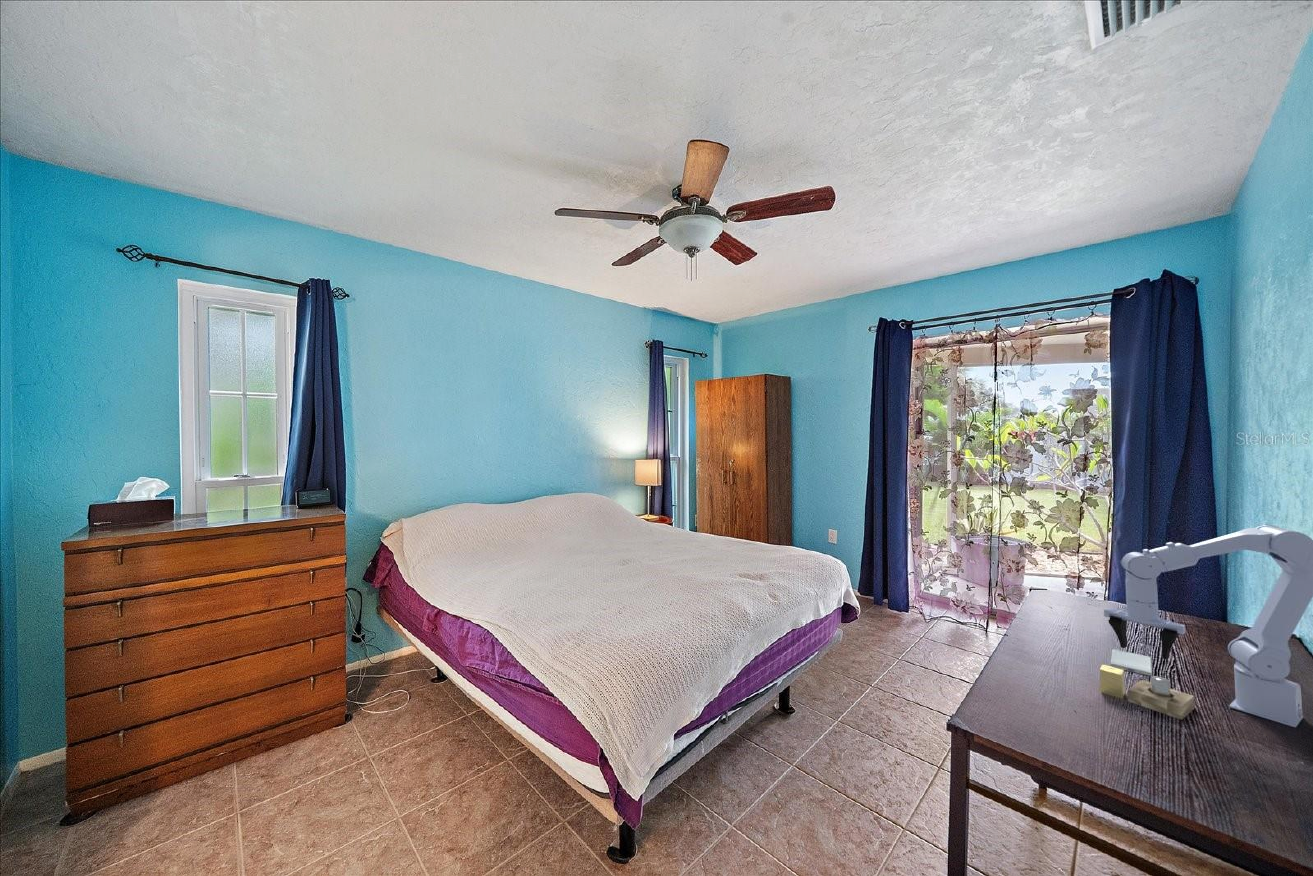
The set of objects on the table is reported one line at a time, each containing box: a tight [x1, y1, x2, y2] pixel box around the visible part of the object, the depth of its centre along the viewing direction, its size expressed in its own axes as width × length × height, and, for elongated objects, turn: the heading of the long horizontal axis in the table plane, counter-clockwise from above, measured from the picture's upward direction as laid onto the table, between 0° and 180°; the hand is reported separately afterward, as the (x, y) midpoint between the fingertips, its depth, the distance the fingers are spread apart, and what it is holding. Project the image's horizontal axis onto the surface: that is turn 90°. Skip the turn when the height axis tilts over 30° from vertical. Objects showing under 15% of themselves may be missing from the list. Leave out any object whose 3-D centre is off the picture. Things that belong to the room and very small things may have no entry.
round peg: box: [1150, 675, 1171, 698], centre depth 113 cm, size 3×3×6 cm
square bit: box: [1099, 664, 1126, 700], centre depth 119 cm, size 4×4×6 cm
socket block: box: [1127, 679, 1195, 721], centre depth 113 cm, size 9×9×3 cm
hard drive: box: [1110, 648, 1153, 677], centre depth 133 cm, size 2×8×12 cm
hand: (1144, 652), depth 119 cm, fingers open, 7 cm apart
